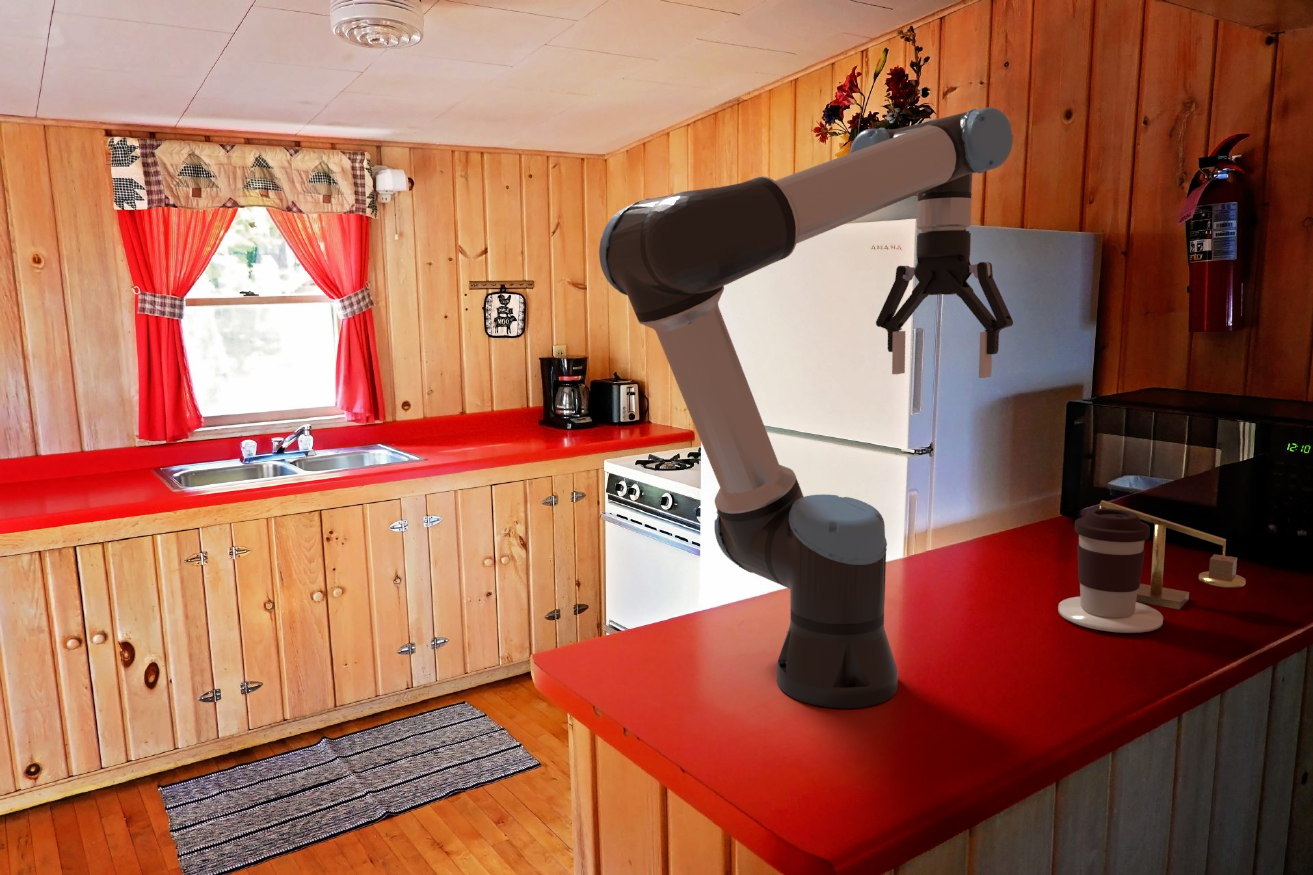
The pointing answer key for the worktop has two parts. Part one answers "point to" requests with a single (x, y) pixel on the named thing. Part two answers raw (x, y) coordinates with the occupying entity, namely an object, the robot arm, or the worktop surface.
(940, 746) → the worktop surface
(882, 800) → the worktop surface
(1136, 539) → the coffee cup
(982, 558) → the worktop surface
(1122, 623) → the saucer
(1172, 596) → the balance
